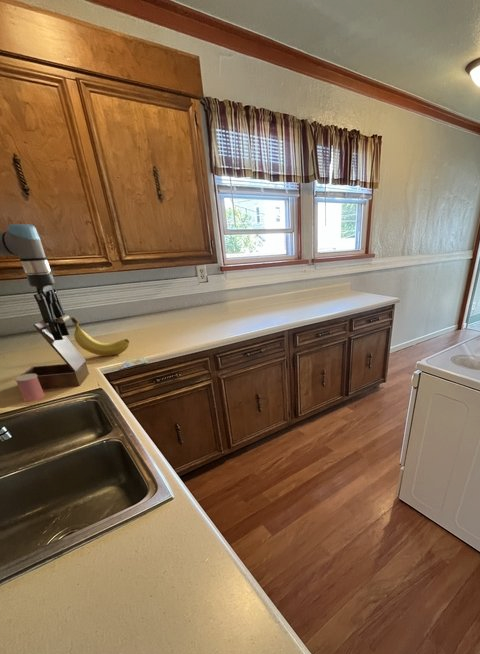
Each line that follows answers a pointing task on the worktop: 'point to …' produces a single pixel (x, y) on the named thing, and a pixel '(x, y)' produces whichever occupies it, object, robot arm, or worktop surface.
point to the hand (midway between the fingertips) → (62, 337)
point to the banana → (98, 343)
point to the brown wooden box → (59, 375)
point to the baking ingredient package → (134, 362)
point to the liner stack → (30, 387)
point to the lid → (62, 345)
